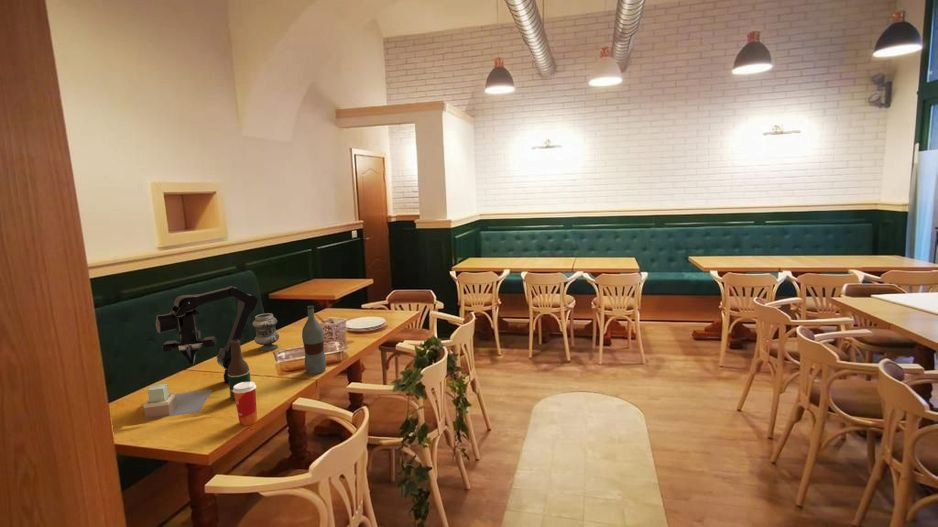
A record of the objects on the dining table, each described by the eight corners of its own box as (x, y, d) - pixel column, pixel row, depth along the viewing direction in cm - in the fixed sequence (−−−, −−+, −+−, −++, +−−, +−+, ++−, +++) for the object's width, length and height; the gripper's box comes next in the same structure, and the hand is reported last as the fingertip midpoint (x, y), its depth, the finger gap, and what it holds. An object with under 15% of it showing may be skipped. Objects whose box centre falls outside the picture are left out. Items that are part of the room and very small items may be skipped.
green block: (169, 398, 190) (167, 383, 189) (165, 403, 185) (163, 388, 184) (154, 400, 188) (152, 385, 187) (150, 405, 184) (147, 390, 183)
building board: (213, 391, 207) (211, 377, 206) (199, 414, 186) (197, 398, 185) (164, 397, 203) (162, 383, 202) (144, 422, 182) (142, 406, 181)
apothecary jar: (263, 344, 267) (259, 312, 264) (284, 344, 265) (281, 312, 263) (250, 352, 255) (246, 318, 252) (272, 352, 254) (269, 318, 251)
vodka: (330, 367, 229) (325, 304, 224) (320, 375, 220) (314, 309, 215) (312, 366, 231) (306, 303, 226) (301, 374, 222) (294, 308, 218)
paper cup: (241, 418, 182) (236, 381, 180) (262, 416, 182) (258, 380, 180) (233, 428, 174) (228, 390, 172) (255, 426, 175) (251, 388, 172)
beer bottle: (256, 395, 201) (250, 338, 197) (242, 404, 194) (235, 344, 190) (241, 393, 204) (234, 337, 200) (226, 401, 196) (219, 343, 193)
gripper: (217, 319, 210) (221, 355, 212) (167, 324, 205) (173, 360, 208) (211, 326, 199) (215, 363, 202) (158, 331, 195) (164, 369, 197)
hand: (192, 364), depth 202 cm, fingers closed
